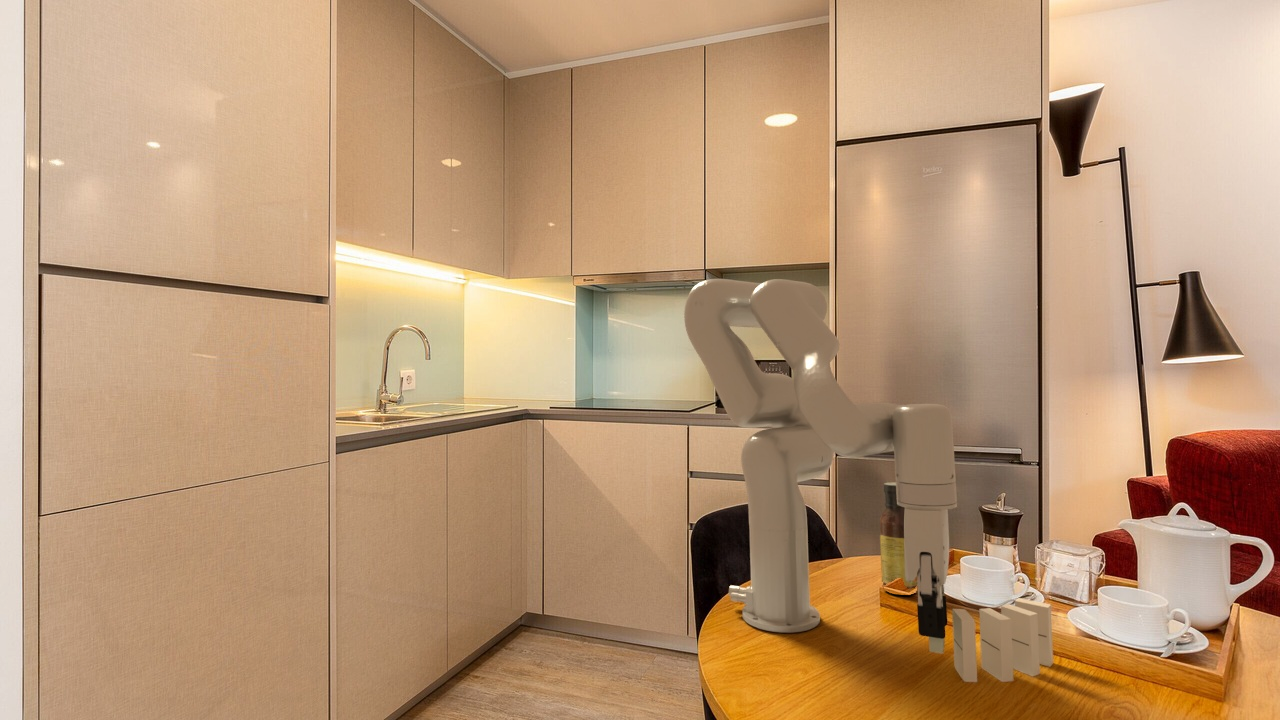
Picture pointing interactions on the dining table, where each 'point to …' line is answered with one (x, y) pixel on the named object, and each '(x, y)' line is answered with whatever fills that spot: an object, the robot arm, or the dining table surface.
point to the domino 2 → (996, 644)
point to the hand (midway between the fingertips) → (933, 628)
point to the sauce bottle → (893, 539)
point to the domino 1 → (964, 645)
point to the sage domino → (937, 643)
